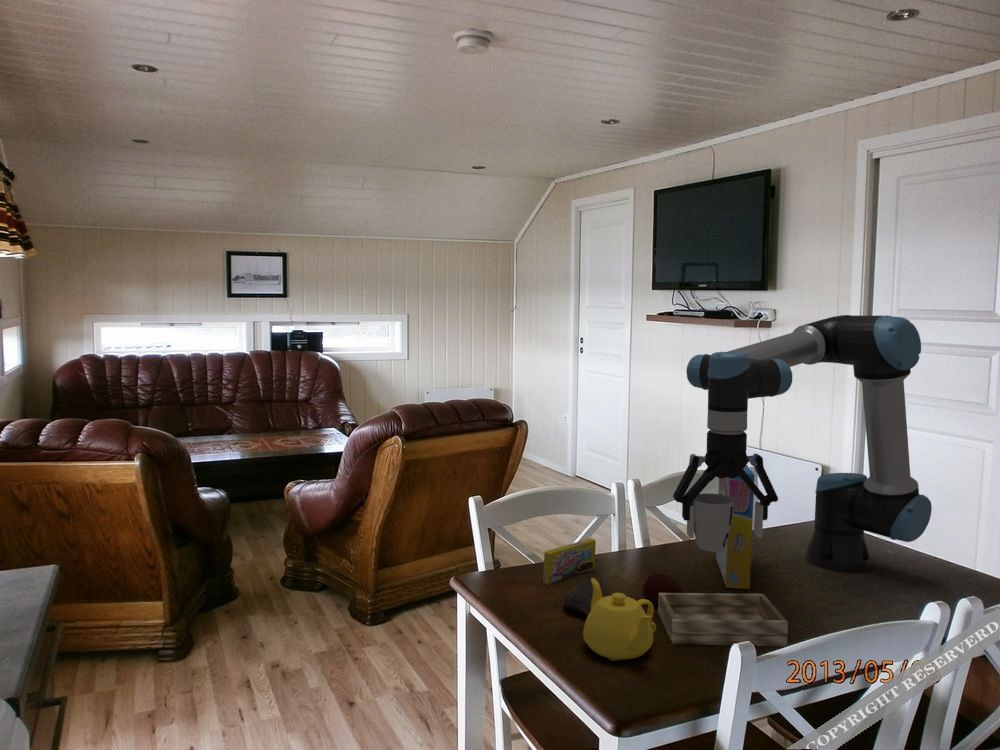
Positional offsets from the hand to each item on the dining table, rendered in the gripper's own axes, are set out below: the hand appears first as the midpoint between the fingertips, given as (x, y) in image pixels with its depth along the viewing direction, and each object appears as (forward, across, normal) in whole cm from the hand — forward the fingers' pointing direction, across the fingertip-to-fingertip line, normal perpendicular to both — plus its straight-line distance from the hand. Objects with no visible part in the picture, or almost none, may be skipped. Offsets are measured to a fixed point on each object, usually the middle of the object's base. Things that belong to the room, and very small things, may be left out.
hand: (724, 536), depth 149 cm
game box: (+20, -11, -32) cm, 39 cm away
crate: (+20, +1, 0) cm, 20 cm away
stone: (+21, +29, -10) cm, 37 cm away
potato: (+20, +10, -13) cm, 25 cm away
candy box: (+20, +29, -28) cm, 44 cm away
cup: (+3, +3, 0) cm, 4 cm away
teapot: (+20, +22, +10) cm, 31 cm away
